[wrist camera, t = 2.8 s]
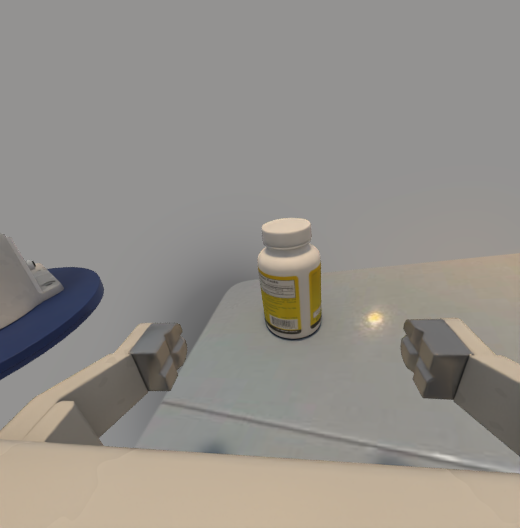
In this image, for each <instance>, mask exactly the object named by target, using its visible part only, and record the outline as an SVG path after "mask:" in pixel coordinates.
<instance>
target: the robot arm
mask: <svg viewBox="0 0 520 528" xmlns="http://www.w3.org/2000/svg"><path fill="white" fill-rule="evenodd" d="M63 289H64V287H63V286H62V284H61V283H60V282H59V281H58V280H57V279H56V278H55V277H54V276H53V275H52V274H51V273H50V272H49V271H48V270H47V269H46V268H45V267H44V266H43V265H42V264H40V263H37V264H35V263H34V262H33V261H31V260H28V261H24V259H23V257H22V256H21V254H20V252H19V250H18V249H17V247H16V245H15V243H14V242H13V240H12V239H11V238H10V237H6V236H5V235H4V234H1V233H0V329H2V328H4V327H6V326H7V325H9V324H11V323H13V322H14V321H16V320H18V319H19V318H21V317H22V316H24V315H25V314H27V313H28V312H29V311H31V310H32V309H33V308H35V307H36V306H37V305H39V304H40V303H42V302H43V301H45V300H47V299H49V298H51V297H52V296H54V295H56V294H58V293H60V292H61V291H62V290H63ZM403 329H404V331H405V333H406V334H407V335H406V336H405V337H403V338H402V339H401V355H402V358H403V361H404V363H405V365H406V367H407V368H408V369H409V370H411V371H412V372H413V373H414V376H413V381H414V383H415V385H416V386H417V388H418V390H419V392H420V394H421V396H422V398H429V399H447V400H454V402H455V403H456V404H457V405H459V406H460V407H461V408H462V409H463V410H465V411H466V412H467V413H468V414H469V415H471V416H472V417H473V418H474V419H475V420H477V421H478V422H479V423H480V424H481V425H483V426H484V427H485V428H486V429H487V430H489V431H490V432H491V433H492V434H493V435H495V436H496V437H497V438H498V439H499V440H501V441H502V442H503V443H504V444H505V445H507V446H508V447H509V448H510V449H511V450H513V451H514V452H515V453H516V454H517V455H519V456H520V364H518V363H516V362H514V361H512V360H510V359H508V358H506V357H504V356H496V355H495V354H494V353H493V352H492V351H491V350H490V349H489V348H488V347H487V346H486V345H485V344H484V343H483V341H482V340H481V339H480V338H479V337H478V336H477V335H476V334H475V333H474V332H473V331H472V330H471V329H470V328H469V327H468V326H467V325H466V324H465V323H464V322H463V321H462V320H460V319H458V318H440V319H412V320H406V322H405V323H404V328H403ZM181 333H182V328H181V326H180V324H178V323H141V324H139V325H138V326H137V327H136V328H135V329H134V330H133V332H132V333H131V334H130V335H129V336H128V338H127V339H126V340H125V341H124V342H123V343H122V345H121V346H120V347H119V348H118V349H117V351H116V352H115V353H114V354H109V355H107V356H105V357H104V358H102V359H100V360H98V361H97V362H95V363H93V364H91V365H90V366H88V367H86V368H84V369H83V370H81V371H79V372H78V373H76V374H74V375H72V376H71V377H69V378H67V379H65V380H64V381H62V382H60V383H59V384H57V385H55V386H53V387H52V388H50V389H48V390H47V391H45V392H43V393H41V394H40V395H38V396H36V397H35V398H33V399H32V400H31V401H30V402H29V403H28V404H27V405H26V406H25V407H24V408H23V409H22V410H21V411H20V412H19V413H18V414H17V415H16V416H15V417H14V418H13V419H12V420H11V421H10V422H9V423H8V424H7V425H6V426H5V427H3V429H2V430H0V528H520V474H518V473H503V472H487V471H472V470H457V469H442V468H427V467H412V466H397V465H381V464H366V463H351V462H336V461H321V460H306V459H290V458H275V457H260V456H245V455H229V454H214V453H199V452H184V451H169V450H154V449H139V448H124V447H109V446H103V444H102V443H101V441H100V440H99V437H100V436H101V435H103V434H104V433H105V432H106V431H107V430H108V429H109V428H110V427H111V426H112V425H114V424H115V423H116V422H117V421H118V420H119V419H120V418H121V417H122V416H123V415H124V414H125V413H126V412H128V411H129V410H130V409H131V408H132V407H133V406H134V405H135V404H136V403H137V402H138V401H139V400H141V399H142V398H143V397H144V396H145V395H146V394H147V393H148V391H171V389H172V387H173V385H174V383H175V381H176V379H177V376H178V373H177V369H179V368H180V367H181V366H183V364H184V362H185V360H186V355H187V344H186V341H185V339H183V338H182V337H181V336H180V335H181Z"/></svg>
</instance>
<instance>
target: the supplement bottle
mask: <svg viewBox="0 0 520 528" xmlns="http://www.w3.org/2000/svg"><path fill="white" fill-rule="evenodd" d="M311 237H312V234H311V223H310V222H309V221H308V220H305V219H300V218H285V219H278V220H274V221H270V222H268V223H266V224H264V225H263V226H262V239H263V244H264V245H265V246H266V247H265V248H264V249H263V250H262V251H261V252H260V253H259V255H258V260H257V261H258V271H259V278H260V285H261V293H262V300H263V307H264V314H265V320H266V324H267V326H268V328H269V329H270V330H271V331H272V332H273V333H274V334H276V335H278V336H280V337H284V338H290V339H295V338H302V337H305V336H308V335H310V334H312V333H313V332H315V331H316V330H317V329H318V327H319V326H320V323H321V260H320V253H319V251H318V250H317V248H316V247H314V246H313V245H311V244H309V243H310V241H311Z"/></svg>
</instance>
